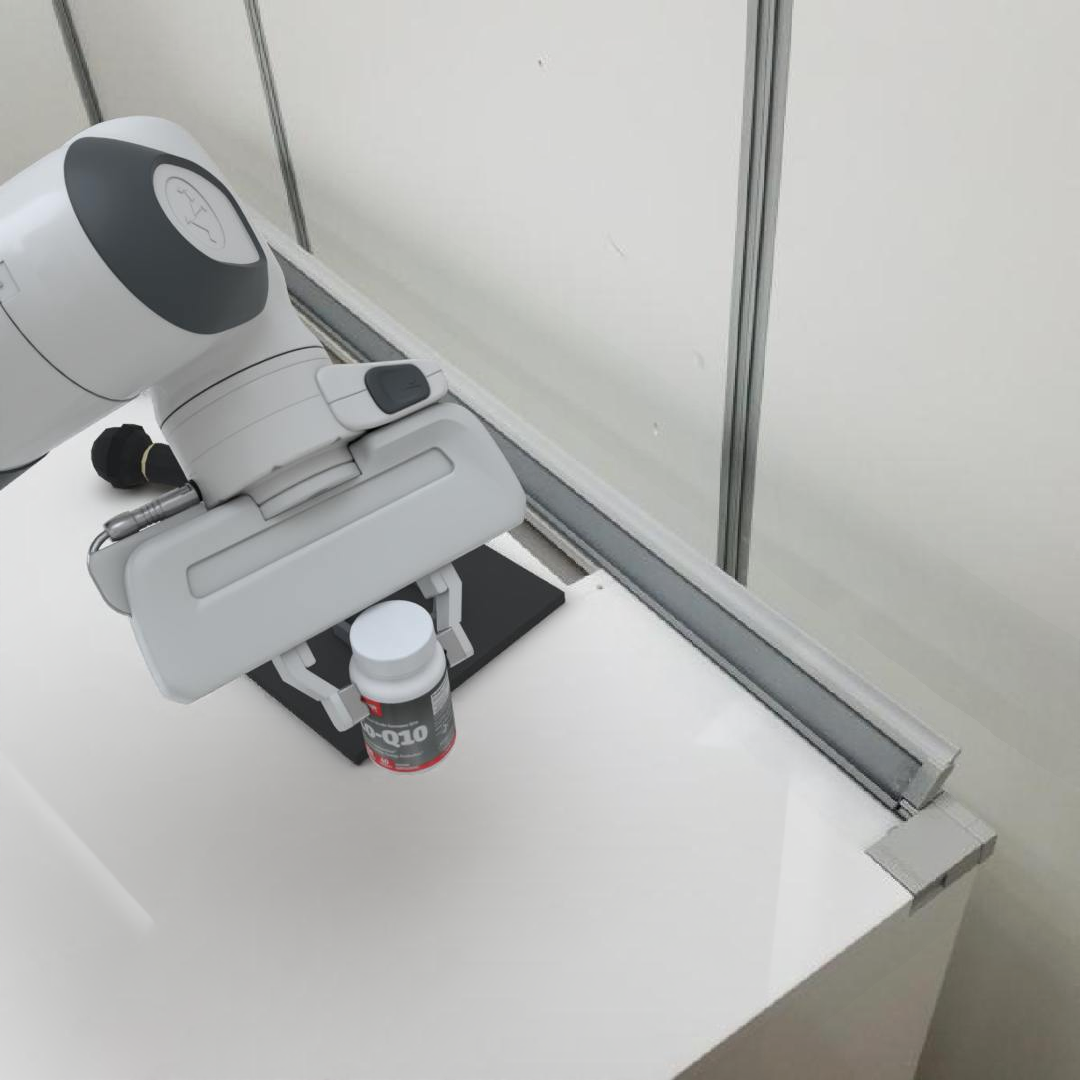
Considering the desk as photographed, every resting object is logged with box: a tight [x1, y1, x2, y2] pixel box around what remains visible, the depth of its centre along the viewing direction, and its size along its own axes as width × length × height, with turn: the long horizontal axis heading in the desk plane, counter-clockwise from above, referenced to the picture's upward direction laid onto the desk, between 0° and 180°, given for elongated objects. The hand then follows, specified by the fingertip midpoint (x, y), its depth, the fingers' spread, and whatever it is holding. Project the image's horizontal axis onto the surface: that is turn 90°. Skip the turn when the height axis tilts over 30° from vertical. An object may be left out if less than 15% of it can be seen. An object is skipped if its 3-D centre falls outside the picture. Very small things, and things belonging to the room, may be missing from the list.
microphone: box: [90, 423, 189, 490], centre depth 96 cm, size 6×6×20 cm
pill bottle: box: [349, 600, 457, 777], centre depth 57 cm, size 5×5×8 cm
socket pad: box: [245, 543, 566, 766], centre depth 83 cm, size 20×16×2 cm
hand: (408, 692), depth 57 cm, fingers closed on pill bottle, 5 cm apart
